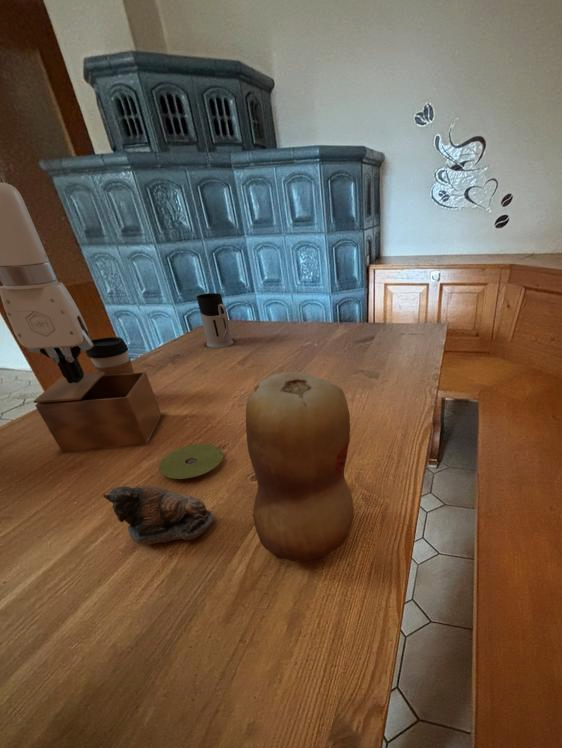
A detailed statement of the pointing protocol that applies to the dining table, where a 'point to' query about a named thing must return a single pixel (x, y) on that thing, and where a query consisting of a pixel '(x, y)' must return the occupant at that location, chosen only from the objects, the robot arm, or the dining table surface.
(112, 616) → the dining table surface
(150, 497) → the bison figurine
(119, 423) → the carton
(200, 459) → the mat
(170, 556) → the dining table surface
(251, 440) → the butternut squash
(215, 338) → the glass holder
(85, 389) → the carton flap
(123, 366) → the coffee cup
